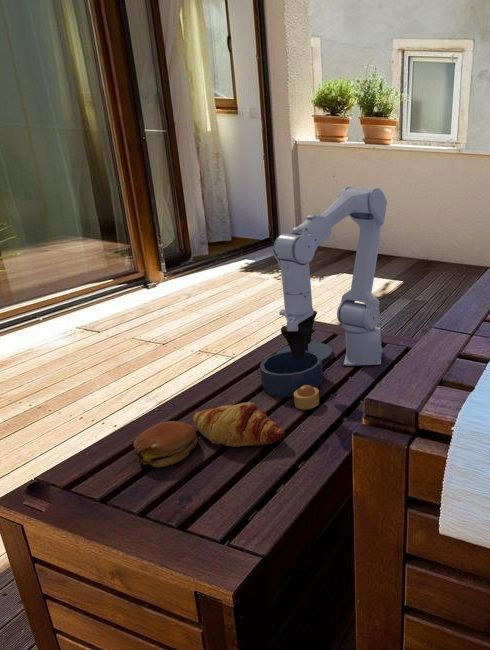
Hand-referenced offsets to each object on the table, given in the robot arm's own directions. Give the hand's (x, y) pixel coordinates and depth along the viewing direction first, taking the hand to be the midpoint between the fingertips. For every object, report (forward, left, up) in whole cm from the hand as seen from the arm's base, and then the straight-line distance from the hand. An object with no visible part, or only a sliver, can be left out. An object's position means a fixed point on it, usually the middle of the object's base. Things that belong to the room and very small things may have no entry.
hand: (302, 350), depth 104 cm
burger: (+21, +21, -11) cm, 32 cm away
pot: (+4, -5, -11) cm, 12 cm away
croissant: (+10, +16, -11) cm, 22 cm away
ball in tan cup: (-1, +5, -11) cm, 12 cm away
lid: (+4, -20, -10) cm, 23 cm away
